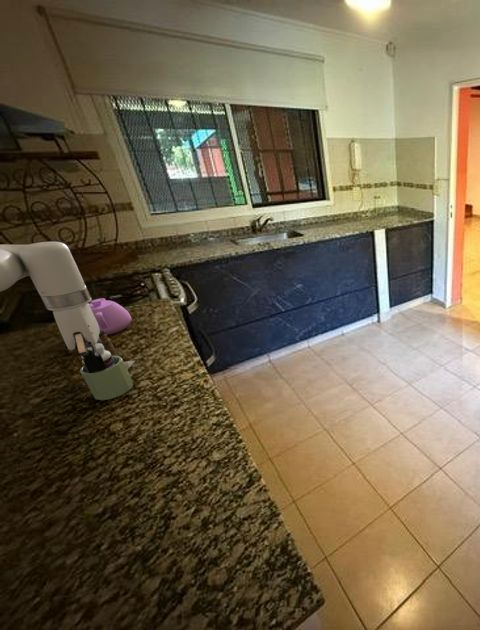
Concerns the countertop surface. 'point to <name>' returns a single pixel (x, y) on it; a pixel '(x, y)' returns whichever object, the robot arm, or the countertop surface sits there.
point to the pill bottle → (105, 355)
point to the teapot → (110, 315)
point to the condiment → (111, 347)
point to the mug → (108, 380)
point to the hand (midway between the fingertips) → (99, 363)
